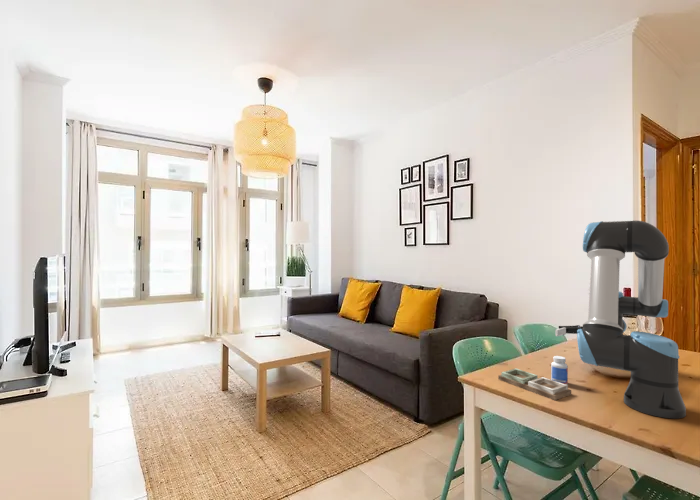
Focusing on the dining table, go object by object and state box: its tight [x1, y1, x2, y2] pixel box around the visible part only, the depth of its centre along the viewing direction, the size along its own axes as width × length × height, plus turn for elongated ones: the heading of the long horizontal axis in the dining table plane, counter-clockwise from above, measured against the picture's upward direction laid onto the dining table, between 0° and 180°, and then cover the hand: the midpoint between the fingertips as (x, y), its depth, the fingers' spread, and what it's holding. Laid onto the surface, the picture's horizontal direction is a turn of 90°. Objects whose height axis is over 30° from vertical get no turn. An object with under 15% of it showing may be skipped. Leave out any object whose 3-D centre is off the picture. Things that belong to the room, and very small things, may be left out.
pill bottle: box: [550, 355, 569, 385], centre depth 135 cm, size 6×5×10 cm
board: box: [497, 368, 572, 401], centre depth 131 cm, size 22×10×3 cm, turn 31°
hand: (573, 336), depth 140 cm, fingers open, 13 cm apart
